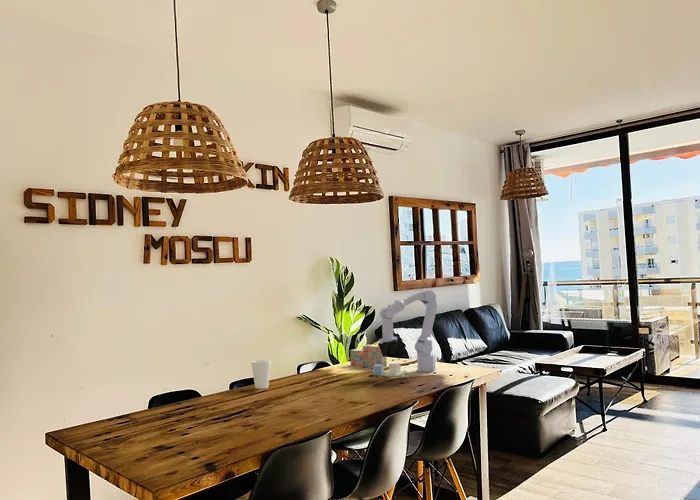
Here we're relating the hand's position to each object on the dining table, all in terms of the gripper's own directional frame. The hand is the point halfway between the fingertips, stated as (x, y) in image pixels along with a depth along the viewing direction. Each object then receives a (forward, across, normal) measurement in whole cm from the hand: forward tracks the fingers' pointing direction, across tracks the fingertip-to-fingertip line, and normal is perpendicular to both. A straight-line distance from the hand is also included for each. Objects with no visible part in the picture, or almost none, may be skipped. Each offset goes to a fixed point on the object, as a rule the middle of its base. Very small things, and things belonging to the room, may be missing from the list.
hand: (388, 355), depth 283 cm
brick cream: (+9, +2, -3) cm, 10 cm away
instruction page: (+10, +7, +12) cm, 17 cm away
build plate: (+10, +2, -3) cm, 11 cm away
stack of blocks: (+10, +16, +26) cm, 32 cm away
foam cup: (+11, -56, +38) cm, 68 cm away
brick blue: (+10, -2, +5) cm, 12 cm away
